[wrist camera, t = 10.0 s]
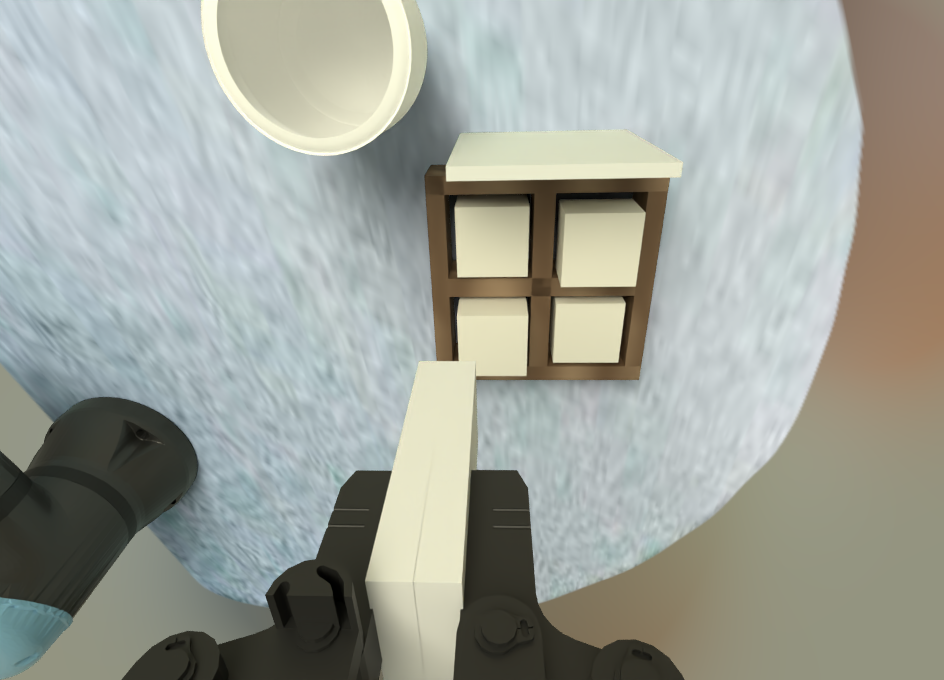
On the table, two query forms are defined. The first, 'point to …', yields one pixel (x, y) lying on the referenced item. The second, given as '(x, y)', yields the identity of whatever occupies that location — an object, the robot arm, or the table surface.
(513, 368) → the button far left
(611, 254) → the button near right
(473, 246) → the button near left
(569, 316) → the button far right
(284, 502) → the table surface
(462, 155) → the card
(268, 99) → the jar
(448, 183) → the board
